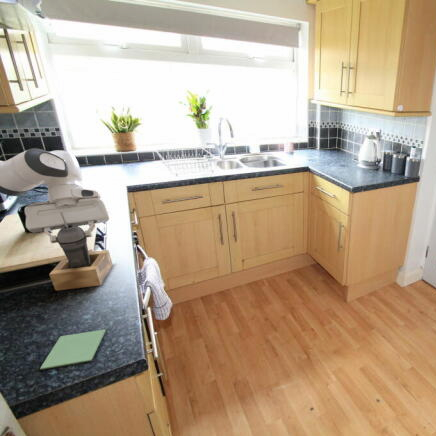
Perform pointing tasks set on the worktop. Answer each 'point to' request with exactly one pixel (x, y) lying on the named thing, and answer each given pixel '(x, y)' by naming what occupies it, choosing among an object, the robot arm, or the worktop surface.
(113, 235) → the worktop surface
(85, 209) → the robot arm
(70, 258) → the beverage cup
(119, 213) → the worktop surface
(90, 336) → the mat
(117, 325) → the worktop surface
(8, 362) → the worktop surface
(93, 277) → the holder
